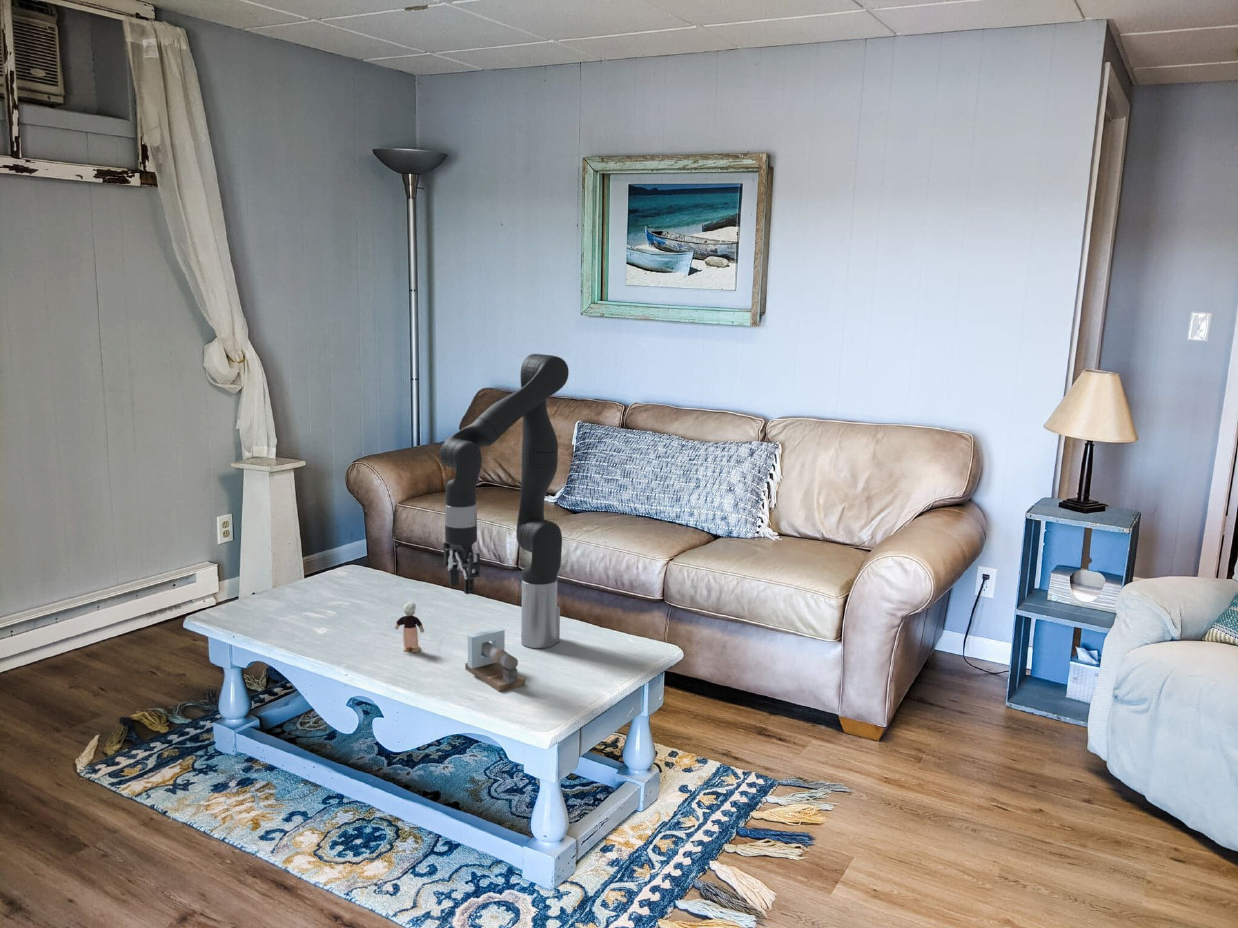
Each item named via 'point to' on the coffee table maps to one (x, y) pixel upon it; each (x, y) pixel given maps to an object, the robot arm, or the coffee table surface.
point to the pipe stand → (498, 669)
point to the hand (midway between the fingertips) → (461, 589)
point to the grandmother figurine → (410, 628)
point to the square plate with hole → (475, 646)
